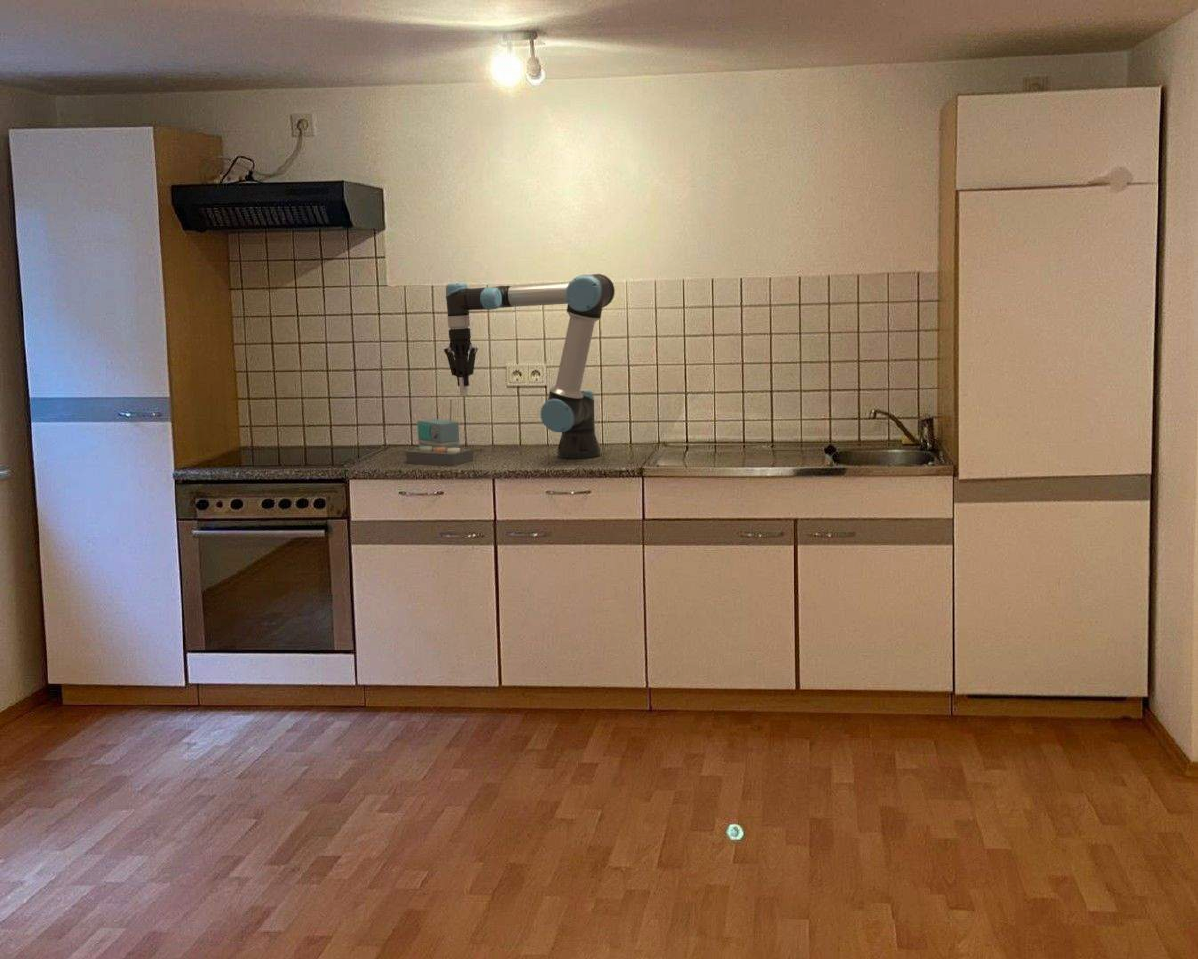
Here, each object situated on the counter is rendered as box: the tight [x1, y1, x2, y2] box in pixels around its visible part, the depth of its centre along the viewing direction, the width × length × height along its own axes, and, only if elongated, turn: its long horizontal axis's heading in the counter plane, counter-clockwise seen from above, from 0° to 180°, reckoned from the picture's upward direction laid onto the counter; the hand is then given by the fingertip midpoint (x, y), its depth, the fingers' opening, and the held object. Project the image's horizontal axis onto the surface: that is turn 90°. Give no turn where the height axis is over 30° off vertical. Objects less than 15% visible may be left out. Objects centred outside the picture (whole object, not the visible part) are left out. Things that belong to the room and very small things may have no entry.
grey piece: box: [405, 447, 475, 467], centre depth 511 cm, size 20×12×4 cm, turn 59°
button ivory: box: [447, 448, 461, 453], centre depth 508 cm, size 4×4×2 cm
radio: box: [416, 399, 461, 449], centre depth 530 cm, size 16×9×20 cm, turn 37°
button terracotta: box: [433, 447, 446, 452], centre depth 511 cm, size 4×4×2 cm
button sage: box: [418, 446, 432, 451], centre depth 514 cm, size 4×4×2 cm
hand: (464, 395), depth 514 cm, fingers closed
